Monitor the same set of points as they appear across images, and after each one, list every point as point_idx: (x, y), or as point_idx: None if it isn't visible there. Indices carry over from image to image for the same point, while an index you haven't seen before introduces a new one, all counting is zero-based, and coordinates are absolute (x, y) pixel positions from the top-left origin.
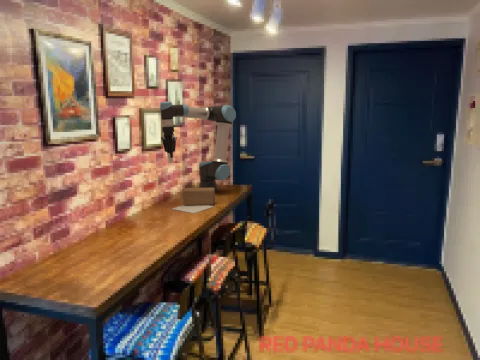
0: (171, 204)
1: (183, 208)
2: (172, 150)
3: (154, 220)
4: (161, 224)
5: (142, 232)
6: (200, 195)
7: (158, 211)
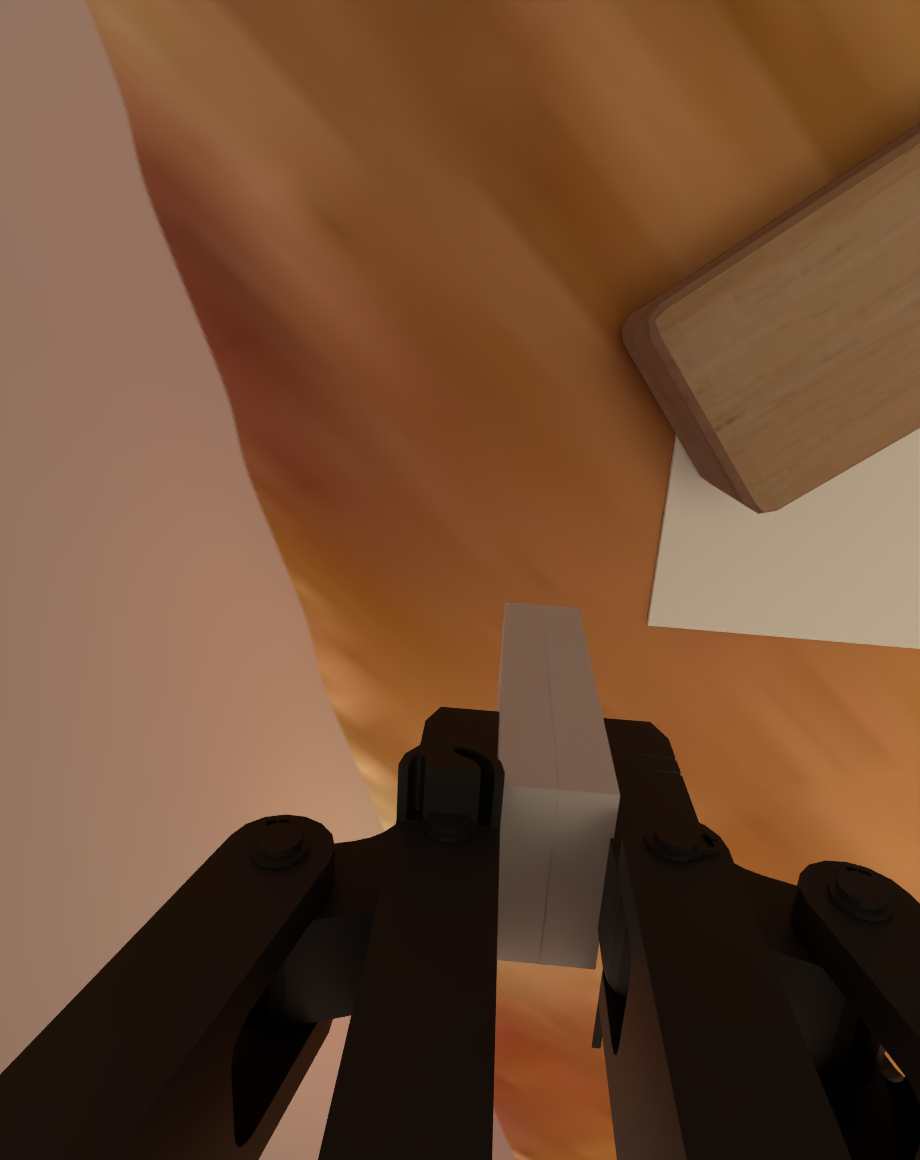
0: (484, 460)
1: (773, 564)
2: (891, 1104)
3: None
4: None
5: None
6: None
7: None
